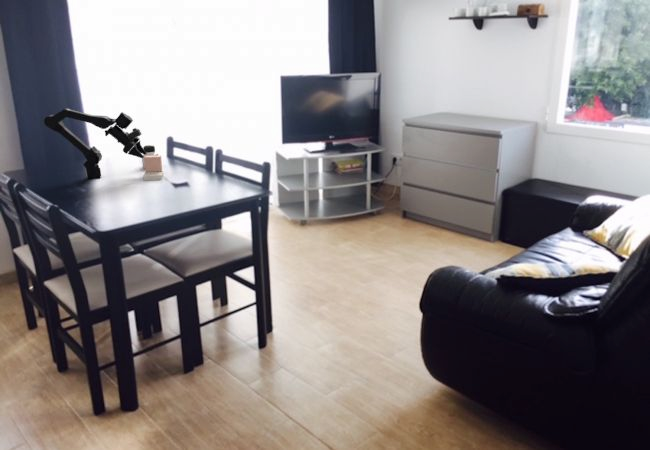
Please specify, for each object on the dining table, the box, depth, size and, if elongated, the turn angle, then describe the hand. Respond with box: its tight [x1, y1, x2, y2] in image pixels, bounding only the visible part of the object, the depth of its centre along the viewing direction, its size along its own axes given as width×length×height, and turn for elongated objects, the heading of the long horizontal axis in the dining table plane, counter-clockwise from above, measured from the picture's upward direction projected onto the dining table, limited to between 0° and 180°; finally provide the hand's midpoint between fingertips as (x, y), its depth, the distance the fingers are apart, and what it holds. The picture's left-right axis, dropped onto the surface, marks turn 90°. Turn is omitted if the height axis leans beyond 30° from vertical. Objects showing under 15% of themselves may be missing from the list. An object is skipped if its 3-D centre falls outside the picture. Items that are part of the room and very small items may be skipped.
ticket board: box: [143, 170, 165, 181], centre depth 291 cm, size 9×8×3 cm
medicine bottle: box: [141, 144, 159, 169], centre depth 316 cm, size 7×7×12 cm
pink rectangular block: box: [144, 154, 164, 173], centre depth 296 cm, size 8×4×10 cm, turn 98°
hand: (144, 155), depth 294 cm, fingers open, 9 cm apart
